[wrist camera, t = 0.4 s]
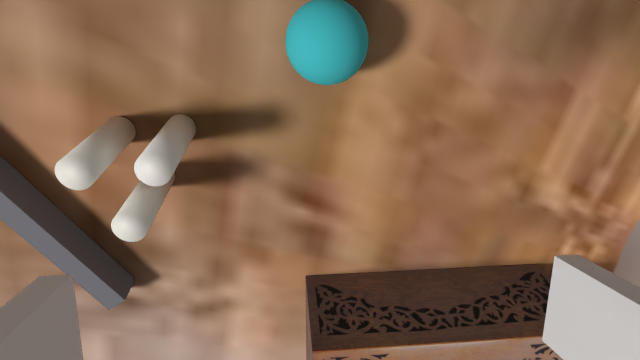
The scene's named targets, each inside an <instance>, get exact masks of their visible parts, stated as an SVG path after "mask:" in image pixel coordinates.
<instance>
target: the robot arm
mask: <svg viewBox="0 0 640 360" xmlns="http://www.w3.org/2000/svg"><path fill="white" fill-rule="evenodd" d="M542 341H543V342H544V343H546V344H547V345H548V346H549V347H550V348H551V349H552V350H553V351H554V352H555V353H556V354H558V355H559V356H560V357H561V358H562V359H563V360H640V287H638V286H636V285H634V284H632V283H630V282H629V281H627V280H625V279H623V278H621V277H619V276H617V275H615V274H614V273H612V272H610V271H608V270H606V269H604V268H602V267H600V266H599V265H597V264H595V263H593V262H591V261H589V260H587V259H585V258H584V257H582V256H580V255H564V256H555V257H554V263H553V270H552V277H551V284H550V290H549V297H548V304H547V311H546V317H545V324H544V331H543V337H542ZM0 360H83V353H82V345H81V338H80V330H79V322H78V314H77V306H76V298H75V290H74V283H73V275H58V276H39V277H38V278H37V279H36V280H34V281H33V282H32V283H31V284H29V285H28V286H27V287H26V288H25V289H23V290H22V291H21V292H20V293H18V294H17V295H16V296H15V297H13V298H12V299H11V300H10V301H9V302H7V303H6V304H5V305H4V306H2V307H1V308H0Z"/></svg>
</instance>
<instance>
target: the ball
mask: <svg viewBox="0 0 640 360" xmlns="http://www.w3.org/2000/svg"><path fill="white" fill-rule="evenodd" d="M368 44H369V38H368V31H367V27H366V24H365V22H364V20H363V18H362V16H361V15H360V14H359V12H358V11H357V10H356V9H355V8H354V7H353V6H351V5H350V4H349V3H347V2H345V1H343V0H312V1H310V2H308V3H306V4H304V5H303V6H302V7H301V8H300V9H299V10H298V11H297V12H296V13H295V14H294V16H293V17H292V19H291V21H290V23H289V25H288V28H287V32H286V51H287V55H288V57H289V60H290V62H291V64H292V66H293V67H294V68H295V70H296V71H297V72H298V73H299V74H300V75H301V76H302V77H304V78H305V79H307V80H309V81H311V82H313V83H316V84H321V85H333V84H338V83H341V82H343V81H345V80H347V79H349V78H350V77H352V76H353V75H354V74H355V73H356V72H357V71H358V70H359V68H360V67H361V65H362V64H363V62H364V60H365V58H366V55H367V51H368Z"/></svg>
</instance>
